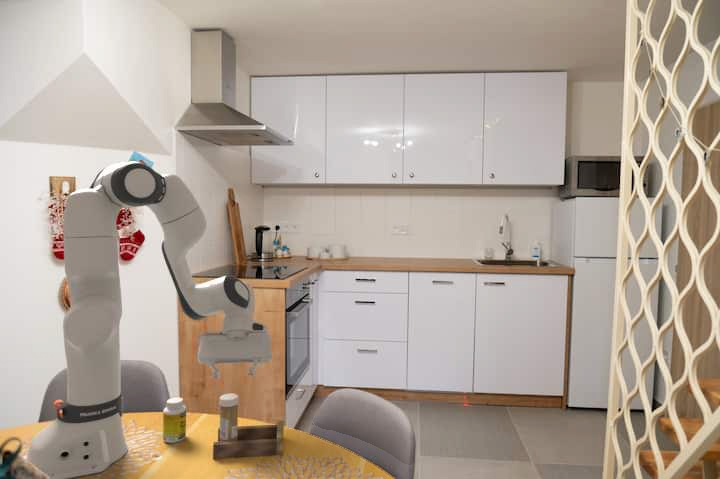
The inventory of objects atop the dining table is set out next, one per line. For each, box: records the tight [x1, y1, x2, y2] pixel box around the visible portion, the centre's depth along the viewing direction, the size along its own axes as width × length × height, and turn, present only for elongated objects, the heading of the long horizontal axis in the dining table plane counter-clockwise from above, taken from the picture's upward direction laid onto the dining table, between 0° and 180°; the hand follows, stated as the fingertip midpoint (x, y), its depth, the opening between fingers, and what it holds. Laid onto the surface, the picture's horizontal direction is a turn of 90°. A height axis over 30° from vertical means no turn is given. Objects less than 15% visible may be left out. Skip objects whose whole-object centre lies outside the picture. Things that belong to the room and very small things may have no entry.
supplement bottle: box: [162, 397, 187, 444], centre depth 119 cm, size 6×6×10 cm
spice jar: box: [219, 393, 239, 442], centre depth 114 cm, size 5×5×14 cm
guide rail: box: [212, 420, 285, 460], centre depth 115 cm, size 17×10×4 cm, turn 99°
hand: (233, 376), depth 124 cm, fingers open, 8 cm apart
